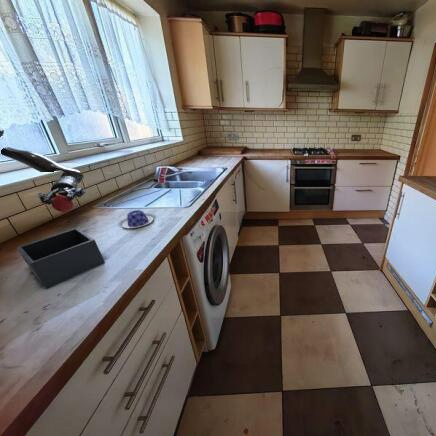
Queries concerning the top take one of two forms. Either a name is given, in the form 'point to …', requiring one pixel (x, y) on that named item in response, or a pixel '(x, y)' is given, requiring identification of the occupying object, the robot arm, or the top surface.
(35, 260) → the trash bin
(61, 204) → the onion
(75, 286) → the top surface
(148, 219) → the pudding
